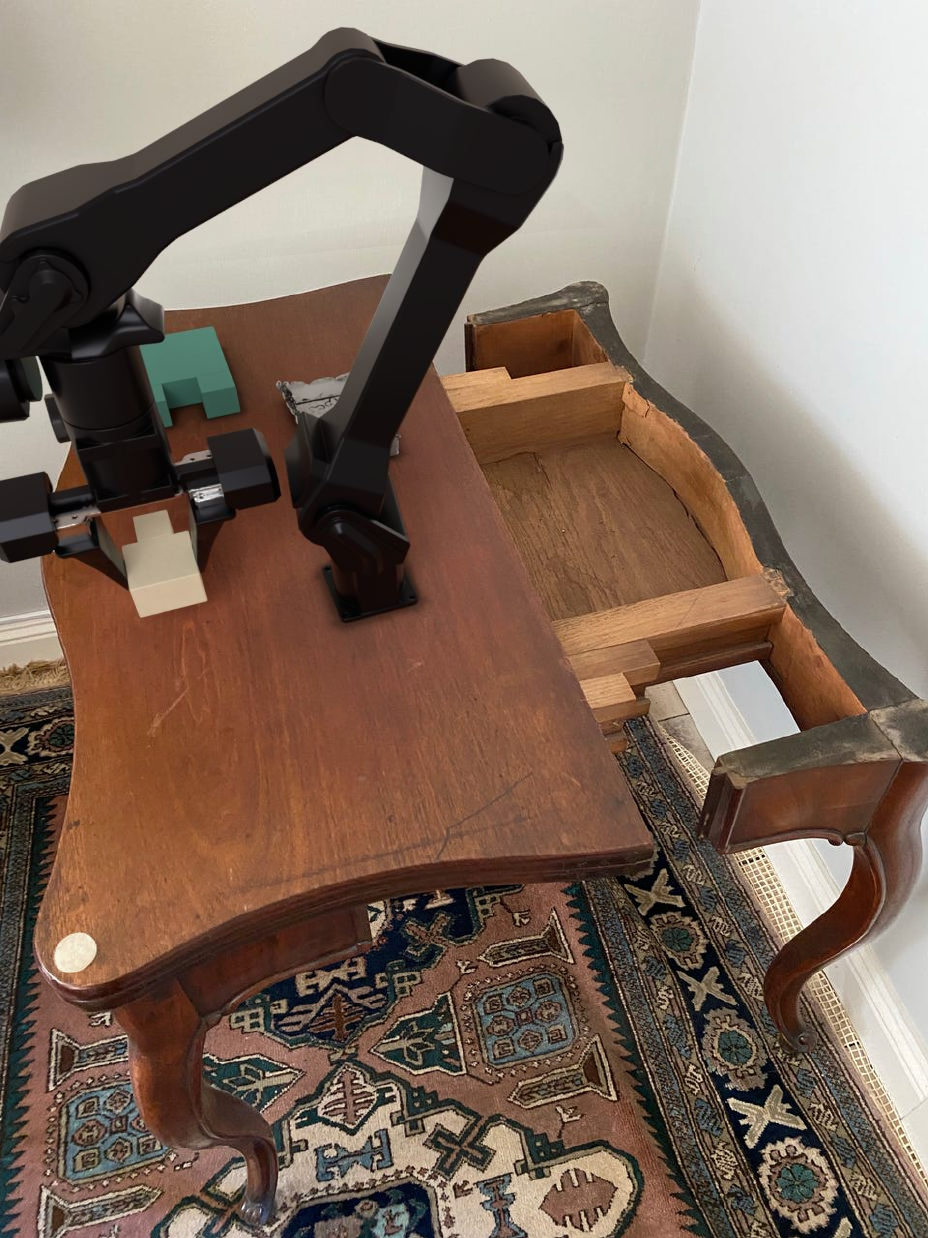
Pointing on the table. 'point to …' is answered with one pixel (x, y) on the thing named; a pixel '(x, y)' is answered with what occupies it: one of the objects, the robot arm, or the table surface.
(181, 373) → the teal pad
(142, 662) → the table surface
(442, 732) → the table surface
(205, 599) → the cream tabbed block
